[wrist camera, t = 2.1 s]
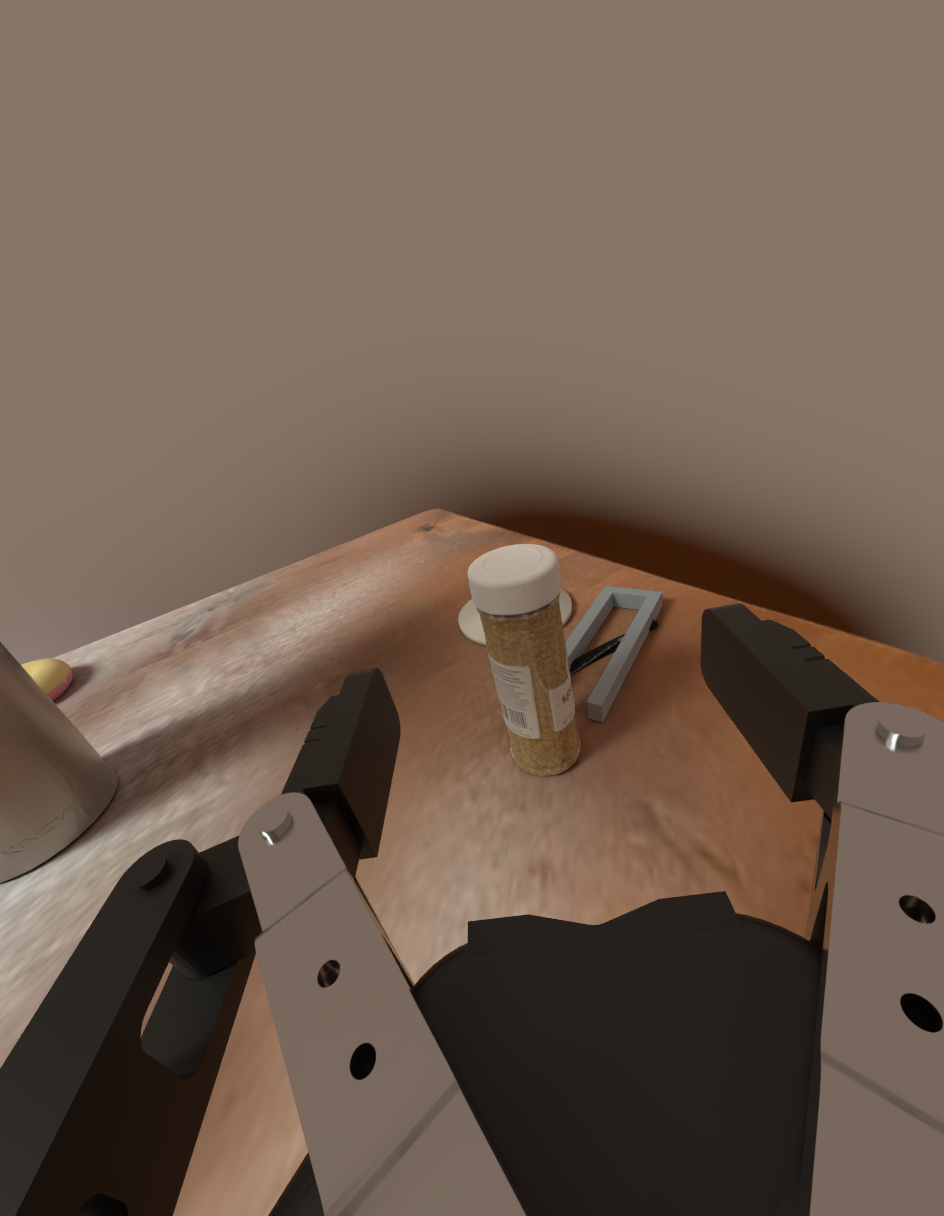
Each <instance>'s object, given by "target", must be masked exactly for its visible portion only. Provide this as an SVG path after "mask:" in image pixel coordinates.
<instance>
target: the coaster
mask: <svg viewBox="0 0 944 1216" xmlns="http://www.w3.org/2000/svg"><path fill="white" fill-rule="evenodd" d="M559 604H560V612H561V618H562V625H563V627H564V626H565V625H566V623H567V622H568V621H569V619H570V617H571V615H572V602H571V598H570V596H569V595H568V593H567V592H565V591H564V590H563V589H561V590H560V597H559ZM458 622H459V626H460V630H461V632H462V634H463V635H464V636H465V637H466V638H467V639H468V640H470V641H472V642H474V643H476V644H479V645H483V646H487V644H486V639H485V634H484V630H483V626H482V622H481V618H480V614H479V612H478V611H477V608H476V606H475V605H474V602H473V599H471V600H470V601H468V602H467V603H466V604H465V605H464V607H463V608H462V609H461V611H460V613H459V617H458Z"/></svg>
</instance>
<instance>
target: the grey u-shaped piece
mask: <svg viewBox="0 0 944 1216" xmlns="http://www.w3.org/2000/svg"><path fill="white" fill-rule="evenodd" d="M613 607H620V608H628V609H636V610H639V611H638V613H637V615H636V616H635V618H634V620H633V622H632V623H631V625H630V627H629V629H628V630H627V632H626V634H625V636H624V637H623V639H622V641H621V643H620V644H619V646H618V648H617V649H616V651H615V653H614V655H613V656H612V658H611V660H610V662H609V663H608V665H607V667H606V669H605V670H604V672H603V674H602V676H601V677H600V679H599V681H598V682H597V684H596V686H595V688H594V689H593V691H592V693H591V695H590V696H589V698H588V700H587V702H586V703H587V712H588V719H592V720H595V721H599V722H602V723H603V721H604V719H605V717H606V715H607V713H608V711H609V710H610V708H611V706H612V704H613V702H614V700H615V698H616V696H617V694H618V692H619V690H620V688H621V686H622V684H623V682H624V680H625V678H626V676H627V674H628V673H629V671H630V669H631V667H632V665H633V663H634V661H635V659H636V657H637V655H638V653H639V651H640V649H641V647H642V645H643V643H644V641H645V639H646V638H647V636H648V634H649V632H650V631H649V628H650V625H651V624H652V620H653V619H654V621H655V620H656V618H657V616H658V614H659V612H660V610H661V608H662V592H659V591H649V590H639V589H629V588H619V587H610V586H605V588H604V589H603V590H602V592H601V593H600V595H599V596H598V597H597V599H596V600H595V601H594V603H593V604H592V606H591V607H590V608H589V610H588V611H587V613H586V614H585V615H584V617H583V618H582V619H581V621H580V622H579V624H578V625H577V626H576V628H575V629H574V630H573V632H572V633H571V635H570V636H569V637H568V639H567V640H566V647H567V654H568V662H569V669H570V666H571V663H572V662H573V660H575V659H576V658H578V657H580V656H582V654H583V652H584V651H585V649H586V648H587V646H588V645H589V643H590V642H591V640H592V639H593V637H594V636H595V634H596V633H597V631H598V630H599V628H600V627H601V625H602V624H603V622H604V620H605V619H606V617H607V616H608V614H609V613H610V611H611V610H612V608H613Z"/></svg>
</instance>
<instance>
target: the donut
mask: <svg viewBox="0 0 944 1216" xmlns="http://www.w3.org/2000/svg"><path fill="white" fill-rule="evenodd" d="M21 666H22V667H23V668H24V669H25V670H26V671H27V673H28V674H29V675H30V676H31V677H32V678H33V679H34V681H35V682H36V683H37V684H38V685H39V686H40V687H41V689H42V690H43V691H44V692H45V693H46V694H47V695H48V696H49V698H50V699H51V700H52V701H54V700H56V699H57V698H58V697H59V696H61V695H62V694H63V693H64V692H65V691H66V689H67V688H68V687H69V685H70V683H71V681H72V677H73V673H72V670H71V668H70V666H69V665H68V664H66V663H65V662H63V661H61V660H57V659H41V660H35V661H31V662H28V663H25V664H22V665H21Z"/></svg>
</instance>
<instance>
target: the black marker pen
mask: <svg viewBox="0 0 944 1216" xmlns="http://www.w3.org/2000/svg"><path fill="white" fill-rule="evenodd" d="M658 625H659V624H658V622H657V621H654V619H653V620H652V624H651V625H650V628H649V631H651V630H653V629H655V628H657V626H658ZM624 636H625V634H624V635H621V636H619V637H617V638H615V639H613V640H610V641H608V642H606V643H604V644H602V645H601V646H599V647H597V648H595V649H593V650H591V651H589V652H587V653H585V654H583V655H582V656H580V657H578V658H576V659H575V660H573V662H572V663H571V666H570V675H571V674H572V673H574V672H576V671H577V670H579V669H581V668H582V667H584V666H586V665H588V664H590V663H593V662H595V661H597V660H599V659H601V658H603V657H605V656H607V655H609V654H611V653H613V652H615V651H616V649H617V648H618V646H619V644H620V643H621V641H622V639H623V637H624Z"/></svg>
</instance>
